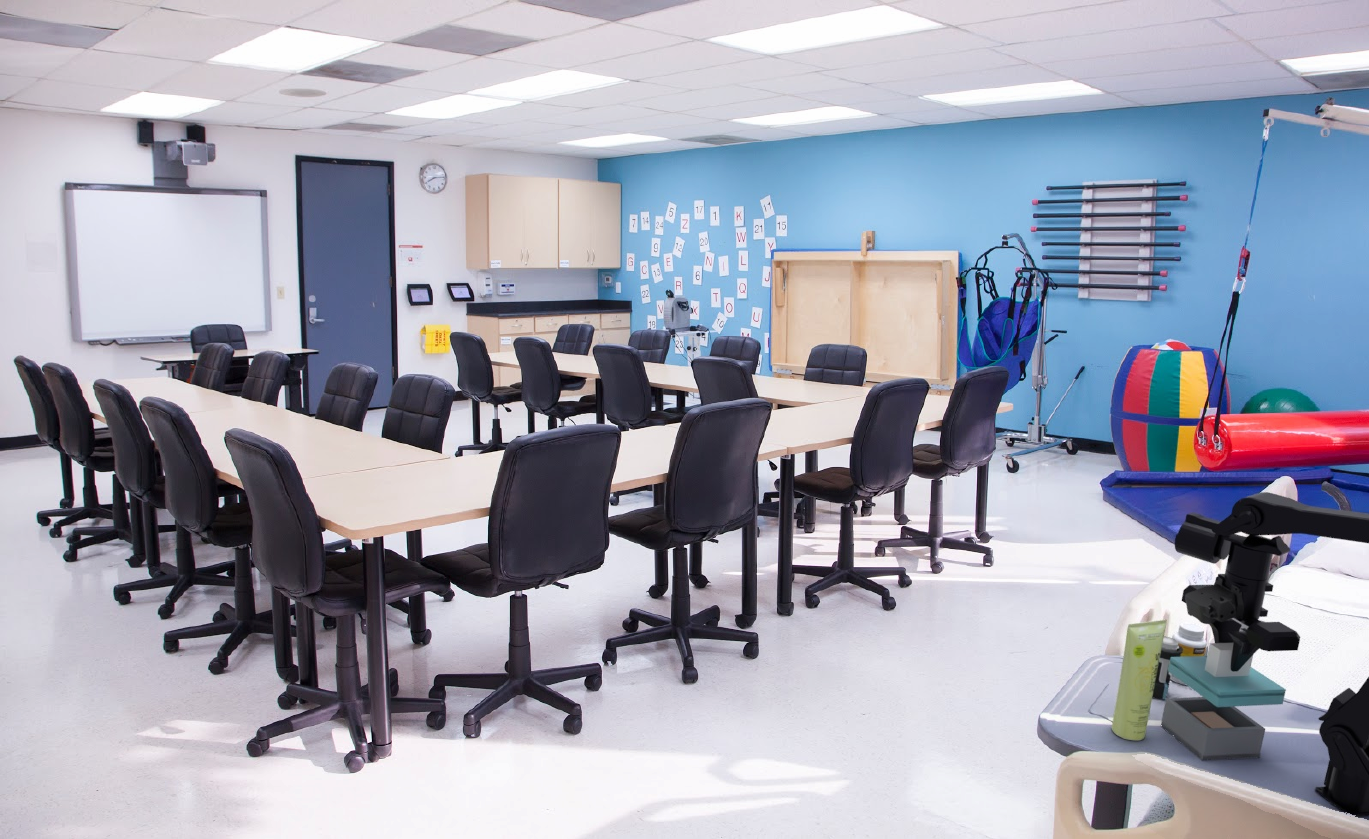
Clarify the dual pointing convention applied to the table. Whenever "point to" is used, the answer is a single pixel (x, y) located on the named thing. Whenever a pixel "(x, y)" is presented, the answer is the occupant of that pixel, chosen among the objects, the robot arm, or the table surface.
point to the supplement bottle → (1189, 642)
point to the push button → (1165, 667)
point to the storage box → (1212, 729)
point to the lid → (1225, 679)
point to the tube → (1138, 678)
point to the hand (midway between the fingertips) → (1228, 666)
